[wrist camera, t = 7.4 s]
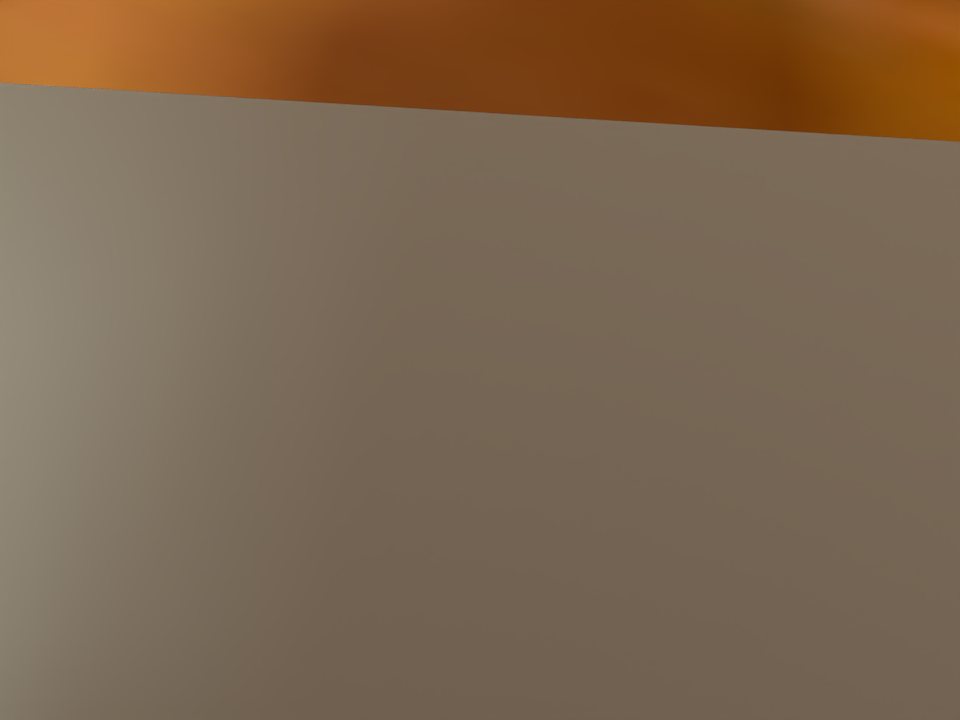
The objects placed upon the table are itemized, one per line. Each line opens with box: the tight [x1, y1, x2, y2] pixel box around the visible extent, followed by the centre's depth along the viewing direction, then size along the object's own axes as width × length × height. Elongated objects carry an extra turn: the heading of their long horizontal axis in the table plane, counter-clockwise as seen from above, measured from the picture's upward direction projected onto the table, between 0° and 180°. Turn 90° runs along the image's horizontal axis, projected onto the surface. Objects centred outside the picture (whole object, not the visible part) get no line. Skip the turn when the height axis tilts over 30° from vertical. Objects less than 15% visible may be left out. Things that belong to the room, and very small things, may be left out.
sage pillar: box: [0, 83, 960, 720], centre depth 8 cm, size 6×6×12 cm
